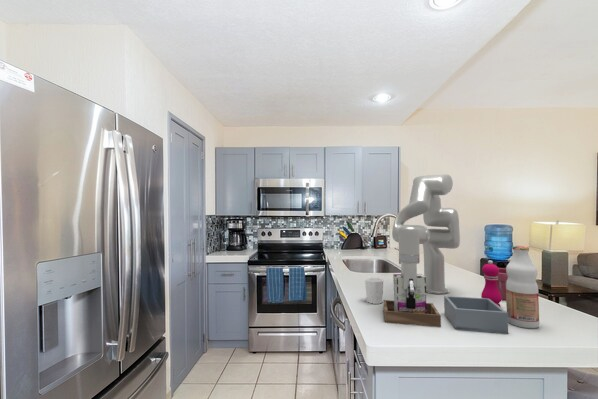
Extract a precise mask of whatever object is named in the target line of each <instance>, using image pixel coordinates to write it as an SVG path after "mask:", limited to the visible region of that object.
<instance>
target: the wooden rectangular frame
mask: <svg viewBox="0 0 598 399" xmlns="http://www.w3.org/2000/svg"><path fill="white" fill-rule="evenodd" d="M382 303H383V304H382V305H383V307H382V308H383V309H384V310H383V316H384V317H385V318H384V322H385V323H386V322H387V324H388V323H390V324H398V323H399V324H400V325H412V326H423V327H424V326H425V327H433V328H434V327H437V328H441V327H442V317H441V313H440V312H439V311H438V309H437V307H435V305H434V303H432V302H426V305H427V314H424V313H411V312H398V311H394V300H388V299H387V300H385V299H382ZM399 324H398V325H399Z"/></svg>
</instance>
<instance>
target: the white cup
mask: <svg viewBox="0 0 598 399" xmlns="http://www.w3.org/2000/svg"><path fill="white" fill-rule="evenodd" d="M364 283H365V296H366V302H367V303H368V302H369V303H368V304H371V303H373V304H372V305H380V303H381V304H382V303H383V295H384V279H382V278H380V277H366V278H365V280H364Z"/></svg>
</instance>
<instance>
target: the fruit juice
mask: <svg viewBox="0 0 598 399" xmlns="http://www.w3.org/2000/svg"><path fill="white" fill-rule="evenodd" d="M511 249H512V252H513V253H512V256H511V259H510V261H509V262H508V264H507V265H506V267H505V268H506V273H507V276H508V279H507V281H506V300H505V301H506V303H505V304H506V312H507V313H508V324H510V325H513V326H515V327H520V328H524V329H537V328H539V326H540V305H539V304H540V303H539V302H540V301H539V286H538V282H537V276H538V270H537V268H536V266H535V265H534V264H533V262H532V259H531V258H530V255H529V252H530V247H529V246H525V245H513V246H512V247H511Z"/></svg>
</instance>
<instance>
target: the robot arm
mask: <svg viewBox="0 0 598 399" xmlns="http://www.w3.org/2000/svg"><path fill="white" fill-rule="evenodd" d="M453 182H454V181H453V178H452V176H451V175H449V174H434V175H433V174H432V175H429V174H428V175H420V176H416V177H415V178H413V180H412V187H411V192H410V196H409V202H408V204H407V205H406V206H404V207H403V208H402V209H401V210H400V211H399V212H398V213H397V214H396V216H395V217H394V221H393V225H392V226H393V227H392V231H391V236H392V239H393V241H394V242H395V243H398V263H399V264H401V265H400V274H402V276H403V289H404V290H405V289H407V297H406V308H408V309H415V308H416V302H415V290H416V289H417V274H418V269H417V267H418V265H417V264H420V263H421V262H420V245H422V247H423V248H422V249H423V275H424V276H426V294H434V295H446V294H448V293H449V289H448V288H446V281H445V280H446V279H445V278H446V276H445V273H446V272H445V255H444V254H443V252H442V251H441V250H440V249H454V250H455V249H457V248H458V249H459V247H460V245H461V236H460V235H461V234H460V220H459V217H460V216H459V213H458V211H457V209H455V208H453V207H442V202H441V197H440V196H446V195H448V194H449V193H450V192H451V191H452V189H453V184H454V183H453ZM421 215H422V217H423V218H422V220H423V223H424V225H426V226H427V227H431V228H427V227H426V226H424V225H419V224H418V225H417V224H405V223H406V222H408V221H409V220H410V219H412V218H415V217H418V216H421ZM432 227H433V228H432ZM414 287H415V288H414ZM408 288H410V289H408ZM408 291H410V292H408Z"/></svg>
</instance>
